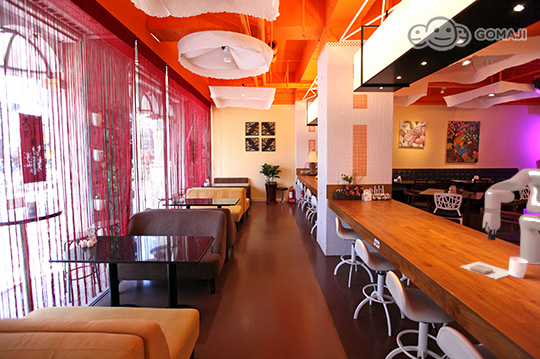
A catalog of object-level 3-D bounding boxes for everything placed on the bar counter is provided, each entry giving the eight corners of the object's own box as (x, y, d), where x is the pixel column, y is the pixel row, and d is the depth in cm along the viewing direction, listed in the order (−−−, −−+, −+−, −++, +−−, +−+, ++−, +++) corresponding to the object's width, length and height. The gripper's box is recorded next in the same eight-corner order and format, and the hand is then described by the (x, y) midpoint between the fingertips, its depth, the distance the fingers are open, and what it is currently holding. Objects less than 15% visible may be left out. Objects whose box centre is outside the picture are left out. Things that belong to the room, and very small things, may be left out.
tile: (478, 264, 170) (470, 266, 167) (492, 269, 162) (484, 271, 159) (478, 267, 170) (470, 269, 167) (492, 272, 163) (484, 274, 160)
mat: (478, 262, 179) (478, 261, 179) (514, 273, 161) (514, 272, 161) (460, 267, 173) (460, 266, 173) (496, 279, 154) (496, 278, 154)
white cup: (507, 270, 163) (509, 255, 162) (524, 275, 158) (527, 259, 157) (507, 275, 157) (510, 259, 156) (525, 280, 152) (528, 264, 151)
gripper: (493, 208, 172) (492, 236, 173) (478, 211, 166) (477, 239, 168) (506, 210, 165) (505, 239, 166) (491, 213, 159) (491, 243, 161)
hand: (491, 239), depth 167 cm, fingers closed
